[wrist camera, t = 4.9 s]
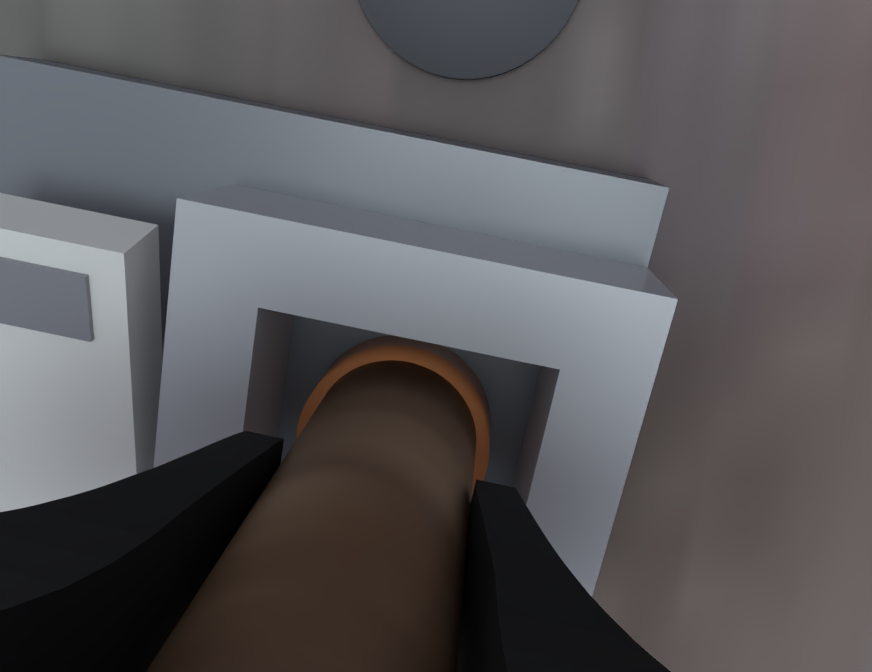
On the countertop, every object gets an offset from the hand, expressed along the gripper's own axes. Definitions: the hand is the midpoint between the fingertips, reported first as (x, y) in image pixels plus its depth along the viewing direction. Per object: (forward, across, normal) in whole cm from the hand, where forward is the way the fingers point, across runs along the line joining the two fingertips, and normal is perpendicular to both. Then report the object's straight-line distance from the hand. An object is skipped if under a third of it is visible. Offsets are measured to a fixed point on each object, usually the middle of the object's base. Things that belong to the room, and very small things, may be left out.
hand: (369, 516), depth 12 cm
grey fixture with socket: (+6, +2, 0) cm, 6 cm away
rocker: (+3, +6, 0) cm, 7 cm away
